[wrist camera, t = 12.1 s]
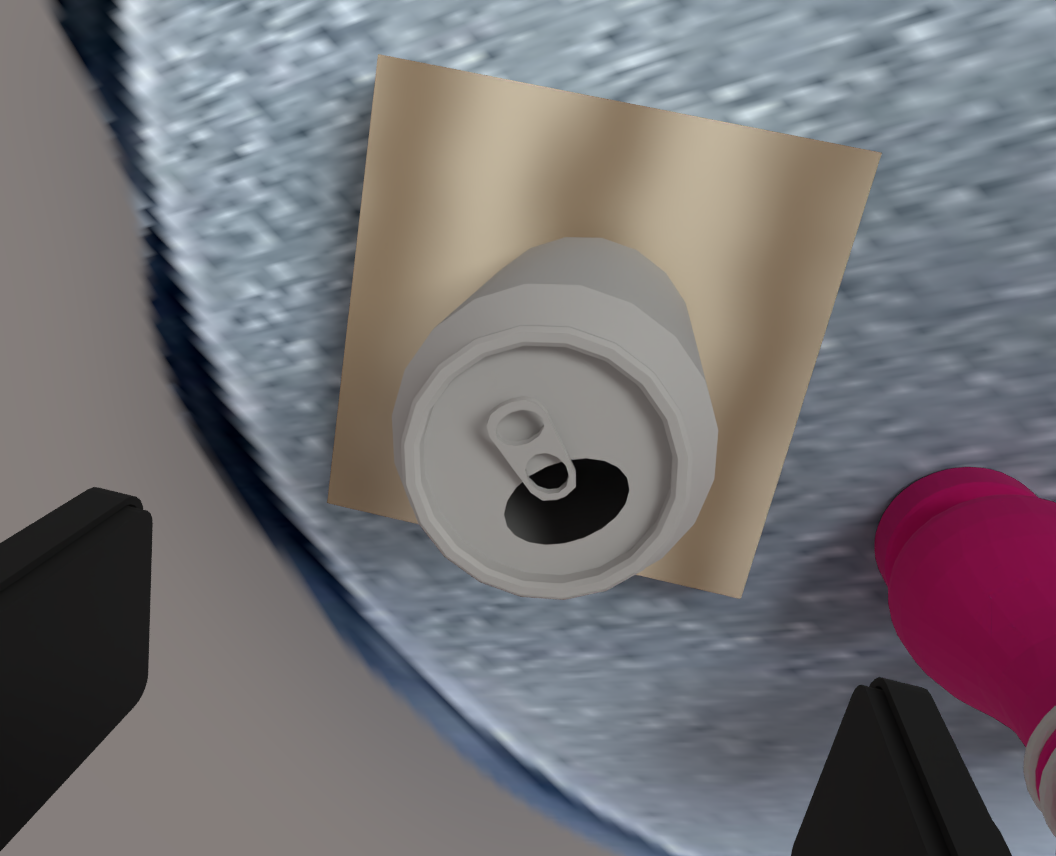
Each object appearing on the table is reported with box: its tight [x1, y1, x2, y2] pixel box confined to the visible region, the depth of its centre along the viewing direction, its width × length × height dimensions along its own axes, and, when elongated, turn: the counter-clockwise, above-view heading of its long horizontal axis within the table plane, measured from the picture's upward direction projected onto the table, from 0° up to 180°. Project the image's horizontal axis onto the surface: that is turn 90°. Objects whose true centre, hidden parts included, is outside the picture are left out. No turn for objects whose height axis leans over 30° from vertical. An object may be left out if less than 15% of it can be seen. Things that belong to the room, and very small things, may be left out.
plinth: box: [327, 54, 882, 599], centre depth 30 cm, size 16×16×3 cm
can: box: [392, 237, 718, 600], centre depth 23 cm, size 8×8×12 cm
